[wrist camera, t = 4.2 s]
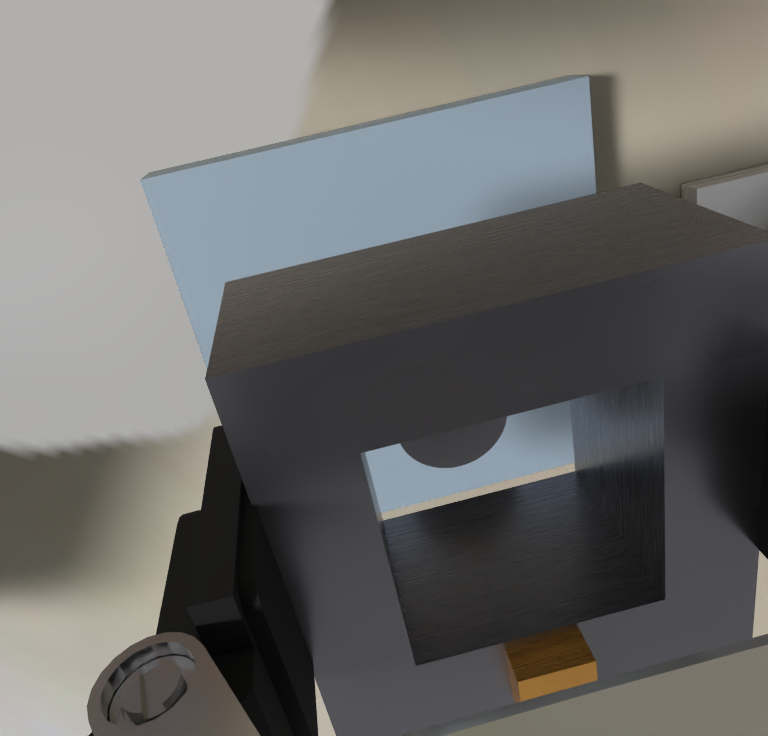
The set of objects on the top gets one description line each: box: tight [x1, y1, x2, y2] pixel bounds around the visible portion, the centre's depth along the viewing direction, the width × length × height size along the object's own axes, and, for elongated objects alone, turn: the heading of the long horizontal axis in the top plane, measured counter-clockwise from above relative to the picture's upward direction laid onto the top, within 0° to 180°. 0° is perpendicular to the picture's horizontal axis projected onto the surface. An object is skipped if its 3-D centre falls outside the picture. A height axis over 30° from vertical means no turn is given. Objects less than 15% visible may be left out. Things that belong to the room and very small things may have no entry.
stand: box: [141, 76, 596, 513], centre depth 17 cm, size 11×11×6 cm
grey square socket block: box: [205, 183, 768, 736], centre depth 11 cm, size 7×7×4 cm
